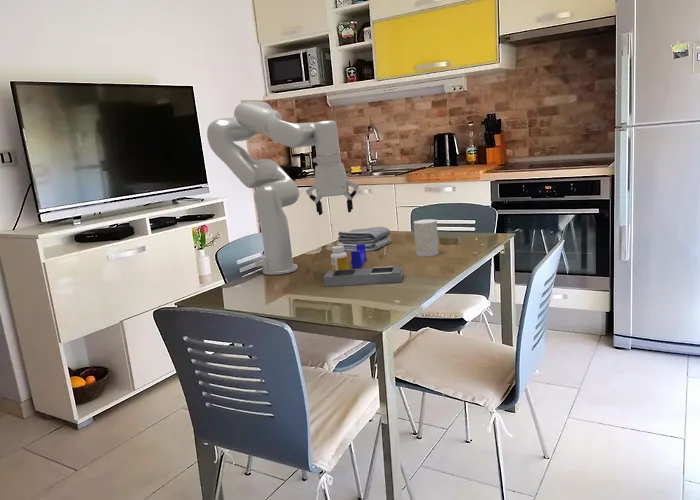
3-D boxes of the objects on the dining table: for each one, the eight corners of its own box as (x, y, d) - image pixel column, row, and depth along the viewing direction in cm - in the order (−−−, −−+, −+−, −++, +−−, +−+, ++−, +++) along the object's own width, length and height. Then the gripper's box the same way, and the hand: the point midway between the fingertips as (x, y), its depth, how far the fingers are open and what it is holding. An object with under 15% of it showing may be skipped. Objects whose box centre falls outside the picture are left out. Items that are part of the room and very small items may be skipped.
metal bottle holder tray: (324, 286, 180) (323, 276, 179) (329, 279, 188) (328, 270, 187) (401, 282, 176) (400, 272, 175) (403, 275, 183) (402, 265, 183)
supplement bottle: (351, 273, 193) (348, 244, 191) (344, 277, 188) (341, 248, 186) (337, 272, 195) (334, 244, 193) (330, 277, 191) (326, 248, 189)
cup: (413, 256, 207) (411, 223, 205) (419, 251, 214) (417, 219, 212) (435, 256, 204) (433, 223, 201) (441, 251, 211) (438, 218, 209)
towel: (377, 251, 222) (375, 231, 221) (335, 251, 231) (333, 232, 229) (392, 243, 236) (390, 224, 234) (352, 243, 244) (350, 225, 242)
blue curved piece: (354, 260, 211) (352, 244, 210) (366, 260, 210) (365, 244, 209) (348, 269, 200) (346, 252, 198) (361, 268, 199) (359, 251, 197)
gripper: (300, 164, 182) (306, 217, 186) (353, 158, 179) (359, 212, 183) (305, 162, 189) (311, 213, 193) (357, 156, 187) (362, 209, 190)
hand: (335, 213), depth 188 cm, fingers open, 9 cm apart
